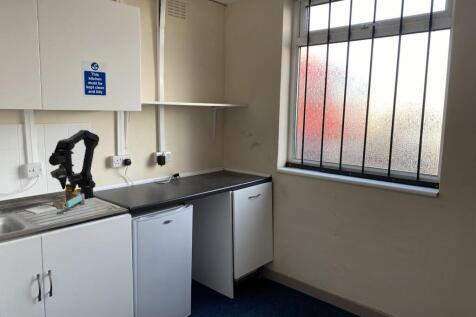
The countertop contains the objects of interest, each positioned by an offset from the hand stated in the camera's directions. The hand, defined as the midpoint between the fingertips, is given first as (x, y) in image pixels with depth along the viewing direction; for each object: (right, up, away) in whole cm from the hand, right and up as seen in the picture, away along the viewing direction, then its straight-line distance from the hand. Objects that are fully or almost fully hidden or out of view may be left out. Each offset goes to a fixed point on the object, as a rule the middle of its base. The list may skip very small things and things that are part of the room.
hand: (68, 190), depth 203 cm
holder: (0, -8, +1) cm, 8 cm away
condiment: (+1, -9, +1) cm, 9 cm away
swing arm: (+7, -6, -8) cm, 12 cm away
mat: (-10, -10, -9) cm, 17 cm away
